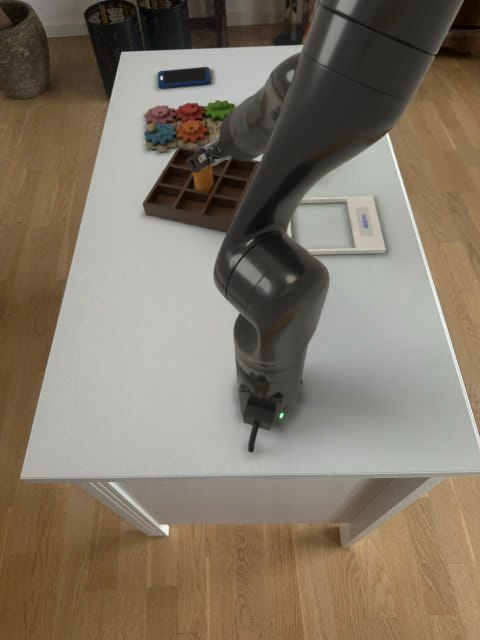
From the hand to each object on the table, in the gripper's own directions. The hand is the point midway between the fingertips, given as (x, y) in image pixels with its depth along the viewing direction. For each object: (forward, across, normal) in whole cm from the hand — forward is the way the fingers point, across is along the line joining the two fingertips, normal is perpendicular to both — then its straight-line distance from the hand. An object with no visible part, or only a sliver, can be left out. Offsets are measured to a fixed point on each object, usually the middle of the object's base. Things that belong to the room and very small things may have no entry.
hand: (214, 156), depth 79 cm
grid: (+15, +1, -5) cm, 16 cm away
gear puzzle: (+28, +16, +8) cm, 33 cm away
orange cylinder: (+14, +2, -4) cm, 15 cm away
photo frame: (-2, +15, -22) cm, 27 cm away
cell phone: (+43, +23, +23) cm, 54 cm away
